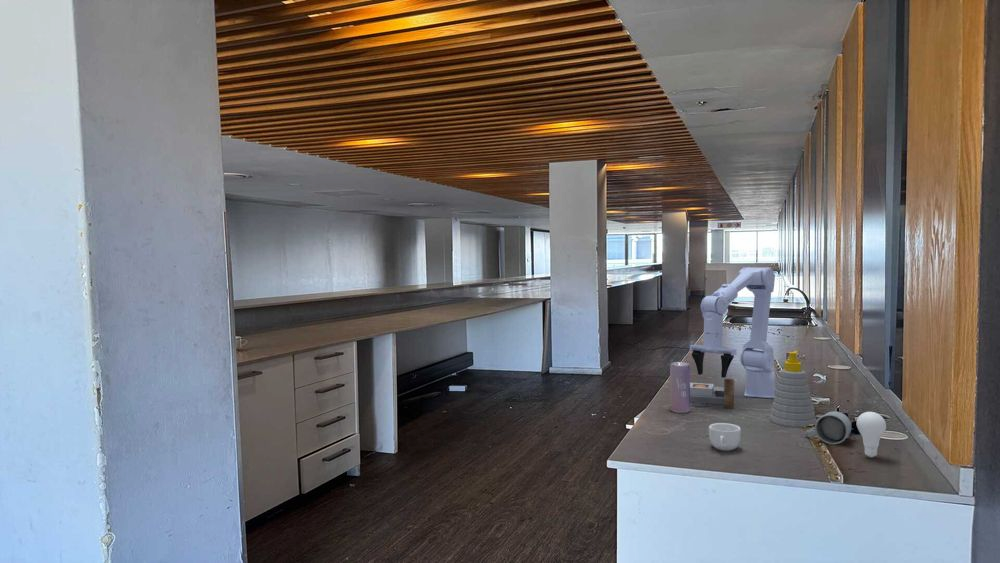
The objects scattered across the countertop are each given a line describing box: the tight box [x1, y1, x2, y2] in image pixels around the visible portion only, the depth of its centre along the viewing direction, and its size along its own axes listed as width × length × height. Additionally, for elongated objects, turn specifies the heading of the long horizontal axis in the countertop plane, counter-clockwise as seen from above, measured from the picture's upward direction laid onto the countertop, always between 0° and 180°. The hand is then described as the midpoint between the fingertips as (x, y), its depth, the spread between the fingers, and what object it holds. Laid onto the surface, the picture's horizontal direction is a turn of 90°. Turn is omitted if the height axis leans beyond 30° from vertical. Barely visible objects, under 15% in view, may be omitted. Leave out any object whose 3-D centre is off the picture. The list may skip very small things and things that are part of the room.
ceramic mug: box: [804, 410, 852, 445], centre depth 166 cm, size 11×8×8 cm
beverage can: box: [669, 361, 691, 414], centre depth 197 cm, size 6×6×15 cm
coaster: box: [692, 402, 708, 408], centre depth 204 cm, size 5×5×1 cm
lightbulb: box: [856, 411, 887, 458], centre depth 151 cm, size 6×6×11 cm
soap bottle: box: [769, 350, 817, 428], centre depth 183 cm, size 12×12×20 cm
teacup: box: [708, 422, 742, 452], centre depth 159 cm, size 10×8×5 cm
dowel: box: [723, 378, 735, 410], centre depth 200 cm, size 3×3×9 cm
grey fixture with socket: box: [690, 382, 724, 406], centre depth 211 cm, size 13×11×5 cm
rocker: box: [714, 386, 724, 392], centre depth 210 cm, size 4×7×1 cm, turn 157°
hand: (711, 375), depth 201 cm, fingers open, 7 cm apart
